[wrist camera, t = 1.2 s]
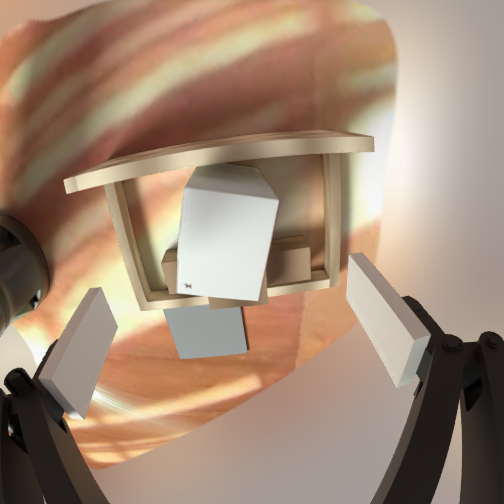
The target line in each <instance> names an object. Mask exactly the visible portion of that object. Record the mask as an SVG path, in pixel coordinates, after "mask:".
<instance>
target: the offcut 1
mask: <svg viewBox="0 0 504 504" xmlns="http://www.w3.org/2000/svg"><path fill="white" fill-rule="evenodd" d="M177 252H178V249H173V250H166V252H165V255H164V257H163V260H162V262H161V265H162V269H163V272H164V276H165V279H166V283H167V286H168V290H169V293H170V294H178V293H177Z"/></svg>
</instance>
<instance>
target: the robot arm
mask: <svg viewBox="0 0 504 504" xmlns="http://www.w3.org/2000/svg"><path fill="white" fill-rule="evenodd" d="M48 288H49V273H48V268H47V264H46V260H45V257H44V255H43V253H42V250H41V248H40V246H39V245H38V243H37V241H36V240H35V238H34V237H33V235H32V234H31V233H30V232H29V231H28V229H27V228H26V227H25V226H24V225H22V224H21V223H20V222H19V221H17V220H15V219H14V218H12V217H9V216H5V215H0V337H1V335H2V334H3V332H4V331H5V329H6V328H7V327H8V325H9V324H11V323H12V322H14V321H16V320H18V319H20V318H21V317H23V316H25V315H27V314H29V313H31V312H32V311H34V310H35V309H36V308H37V307H38V306H39V305H40V303H41V302H42V301H43V300H44V298H45V297H46V295H47V292H48ZM346 299H347V301H348V302H349V304H350V306H351V307H352V309H353V311H354V312H355V314H356V316H357V318H358V319H359V321H360V323H361V324H362V326H363V328H364V330H365V331H366V333H367V335H368V336H369V338H370V340H371V342H372V344H373V345H374V347H375V349H376V351H377V352H378V354H379V356H380V358H381V360H382V361H383V363H384V365H385V367H386V369H387V370H388V372H389V374H390V376H391V378H392V380H393V382H394V383H395V385H396V387H397V388H398V387H401V386H404V385H407V384H410V383H412V382H413V380H414V378H415V375H416V374H417V375H418V377H419V379H420V382H419V384H418V386H417V388H416V390H415V393H414V396H415V397H414V400H413V404H412V407H411V410H410V413H409V416H408V419H407V422H406V425H405V427H404V430H403V433H402V435H401V438H400V441H399V443H398V446H397V448H396V451H395V453H394V455H393V458H392V460H391V462H390V465H389V467H388V469H387V471H386V474H385V476H384V478H383V480H382V482H381V484H380V486H379V488H378V490H377V492H376V494H375V496H374V498H373V500H372V501H371V503H370V504H431V501H432V498H433V496H434V493H435V491H436V488H437V485H438V482H439V479H440V476H441V473H442V470H443V467H444V463H445V460H446V457H447V453H448V450H449V446H450V442H451V438H452V433H453V429H454V425H455V420H456V415H457V410H458V404H459V398H460V409H461V424H462V479H461V492H460V503H459V504H504V341H503V339H502V337H500V336H499V335H498V334H496V333H494V332H490V331H487V332H484V333H482V334H481V336H480V338H479V340H478V342H465V343H464V342H463V341H462V340H461V339H460V338H458V337H457V336H454V335H451V334H445V333H444V332H443V331H442V329H441V328H440V327H439V326H438V324H437V323H436V322H435V321H434V320H433V318H432V317H431V316H430V315H428V313H427V311H426V310H425V309H424V308H423V307H422V306H421V304H420V303H419V302H418V301H417V300H415V299H413V298H412V297H410V296H405V297H400V295H399V294H398V293H397V292H396V291H395V289H394V288H393V287H392V286H391V285H390V283H389V282H388V281H387V280H386V279H385V278H384V276H383V275H382V274H381V273H380V272H379V271H378V270H377V269H376V267H375V266H374V265H373V264H372V263H371V262H370V261H369V259H368V258H367V257H366V256H365V255H364V254H363V253H355V254H349V263H348V279H347V293H346ZM117 328H118V326H117V324H116V321H115V319H114V317H113V315H112V312H111V310H110V308H109V305H108V303H107V300H106V298H105V295H104V293H103V290H102V288H101V287H98V288H90V289H89V290H88V292H87V293H86V295H85V297H84V298H83V300H82V301H81V303H80V304H79V306H78V308H77V309H76V311H75V313H74V314H73V316H72V317H71V319H70V321H69V322H68V324H67V326H66V328H65V329H64V331H63V333H62V334H61V336H60V338H59V339H57V340H56V341H55V342H54V343H53V344H52V345H51V346H50V347H49V348H48V350H47V352H46V355H45V356H44V357H43V359H42V361H41V363H40V365H39V367H38V369H37V371H36V373H35V374H34V377H33V378H32V379H31V378H30V377H29V375H28V374H27V372H26V371H25V370H24V369H23V368H16V369H13V370H12V371H10V372H9V373H8V374H7V376H6V377H5V380H4V385H5V386H6V387H7V389H8V390H9V391H10V392H11V394H8V395H6V394H5V392H4V391H3V390H2V389H1V388H0V504H44V499H43V496H44V498H45V501H46V503H47V504H110V503H109V502H108V500H107V499H106V497H105V496H104V494H103V493H102V491H101V489H100V488H99V486H98V484H97V483H96V481H95V480H94V477H93V476H92V474H91V472H90V470H89V468H88V466H87V464H86V463H85V461H84V459H83V457H82V455H81V453H80V451H79V449H78V447H77V445H76V442H75V440H74V438H73V436H72V434H71V432H70V429H69V427H68V425H67V422H66V421H65V419H64V418H63V417H62V416H63V413H64V411H65V412H66V413H67V414H68V416H69V417H70V418H71V419H78V420H84V419H85V416H86V413H87V410H88V407H89V404H90V401H91V398H92V395H93V392H94V389H95V386H96V383H97V380H98V377H99V375H100V372H101V369H102V366H103V364H104V361H105V358H106V356H107V353H108V351H109V348H110V345H111V343H112V340H113V338H114V335H115V333H116V330H117ZM8 429H9V430H10V431H11V436H10V435H9V432H8Z"/></svg>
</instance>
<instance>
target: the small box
mask: <svg viewBox="0 0 504 504" xmlns="http://www.w3.org/2000/svg"><path fill="white" fill-rule="evenodd" d="M279 203H280V200H279V199H278V197H277V196H276V194H275V193H274V191H273V190H272V188H271V187H270V185H269V184H268V182H267V181H266V179H265V178H264V176H263V175H262V173H261V172H260V171H259V169H258V168H254V167H248V166H241V165H234V164H226V163H218V164H211V165H204V166H197V167H196V169H195V171H194V172H193V174H192V176H191V177H190V179H189V181H188V182H187V184H186V186H185V188H184V192H183V200H182V209H181V219H180V229H179V239H178V252H177V293H180V294H190V295H198V296H207V297H216V298H227V299H239V300H252V301H259V299H260V294H261V290H262V285H263V281H264V276H265V271H266V267H267V262H268V257H269V252H270V248H271V243H272V238H273V233H274V228H275V223H276V218H277V213H278V208H279Z"/></svg>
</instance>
